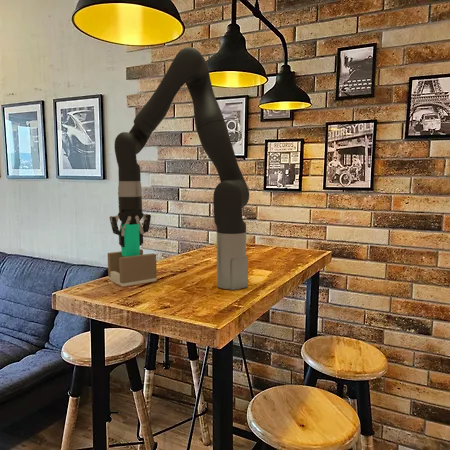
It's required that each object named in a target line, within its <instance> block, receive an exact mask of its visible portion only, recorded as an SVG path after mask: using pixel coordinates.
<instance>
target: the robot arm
mask: <svg viewBox="0 0 450 450" xmlns="http://www.w3.org/2000/svg"><path fill="white" fill-rule="evenodd" d="M184 85H186V87H187V88H186V89H187V90H188V92H189V95H190V98H191V100H192V105H193V117H194V124H195V125H194V126H195V128H196V132H197V135H198V138H199V142H200V145H201V146H202V149H203V150H204V152H205V153H206V155H207V157H208V158H209V160H210V161H211V163H212V164H213V165H214V168H215V169H216V171H217V175H218V177H219V183H218V184H217V185H216V187H214V192H213V201H212V202H213V205H212V206H213V219H214V224H215V226H216V286H217V288H220V289H225V290H231V291H235V290H239V289H244V288H248V287H249V258H248V256H247V224H246V222H245V221H244V219H243V208H244V207H246V206H247V204H248V203H249V201H250V191H249V187H248V185H247V182H246V180H245V177H244V175H243V173H242V171H241V168H240V166H239V163H238V160H237V157H236V154H235V150H234V147H233V144H232V141H231V137H230V133H229V130H228V127H227V123H226V121H225V118H224V115H223V112H222V110H221V108H220V105H219V103H218V100H217V98H216V95H215V93H214V89H213V86H212V79H211V76H210V70H209V66H208V63H207V61H206V59H205V57H204V56H203V55H202V53H201V52H200V51H199V50H198V49H197V48H195V47H192V46H186V47H183V48H181V49H180V50H179V51H178V52H177V53H176V55H175V57H174V58H173V60H172V61H171V64H170V65H169V67H168V69H167V70H166V73H165V74H164V76H163V78H162V79H161V81H160V83H159V84H158V86H157V87H156V89H155V91H154V93H152V95H151V96H150V98H149V99H148V101H147V102H146V103H145V104H144V106H143V107H142V108H141V109H140V111H139V112H138V114H136V116H135V118H134V119H133V125H132V127H131V129H130V130H129V132H127V131H126V132H125V131H122V132H120V133H118V134H117V135H116V137H115V139H114V147H113V148H114V154H115V160H116V163H117V166H118V167H117V168H118V185H117V186H118V187H117V197H118V201H117V202H118V213H117V215H110V216H109V221H110V222H109V223H110V226H111V231H112V234H114V235H117V236H118V245H119V246H120V247H125V244H124V229H126V224H130V225H132V224H139V232H140V247H141V246H143V244H144V234H146V233H148V232H149V230H150V225H151V220H152V215H151V214H148V213H144V212H143V193H142V192H143V191H142V182H141V181H142V180H141V178H142V177H141V166H140V165H139V163H138V160H137V155H138V154H139V153H141V151H142V150H143V149H144V148H145V146H146V144H147V143H148V140H149V139H150V137H151V135H152V133H153V132H154V131H155V130H156V129H157V128H158V127H159V125H160V123H162V121H163V120H164V119H165V117H166V115H167V114H168V112H169V111H170V110H169V109H170V108H171V105H172V103H173V101H174V99H175V97H176V96H177V94H178V93H179V91H180V90H181V88H182V87H183V86H184ZM142 220H143V223H141V221H142ZM119 221H120V222H121V223H120V226H119V225H118V222H119ZM124 224H125V225H124ZM142 224H143V225H142ZM121 225H124V226H123V228H122V227H121ZM121 228H122V231H121Z"/></svg>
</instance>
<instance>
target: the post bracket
mask: <svg viewBox="0 0 450 450" xmlns="http://www.w3.org/2000/svg"><path fill="white" fill-rule="evenodd" d="M157 270H158V269H157V254H156V253H146V254H144V250H143V249H141V248H140V255H136V256H128V257H126V256H122V250H121V251H113V252H112V251H111V252H107V272H108V273H107V275H108V280H109V281H111V282H113V283H115V284H117V285H119V286H120V287H128V286H135V285H139V284H141V285H142V284H147V283H152V282H157V281H158V280H157V279H158V278H157V275H158V274H157Z"/></svg>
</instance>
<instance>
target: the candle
mask: <svg viewBox="0 0 450 450" xmlns="http://www.w3.org/2000/svg"><path fill="white" fill-rule="evenodd" d="M120 225H121V224H120ZM124 225H125V224H124ZM124 225H121V227H122V228H123V226H124ZM122 228H121V231H122ZM124 244H125V247H121V246H120V247H121V248H120V249H121V251H122V256H126V257H128V256H136V255H140V249H141V246H140V232H139V224H132V225H130V224H126V229H124Z"/></svg>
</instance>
